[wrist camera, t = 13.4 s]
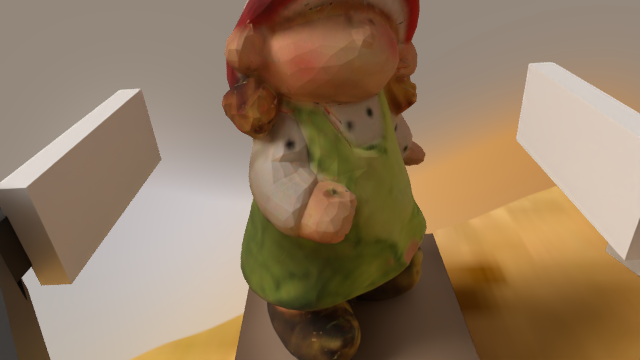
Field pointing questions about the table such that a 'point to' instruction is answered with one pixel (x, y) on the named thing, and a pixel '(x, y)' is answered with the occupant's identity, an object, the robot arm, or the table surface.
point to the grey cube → (633, 265)
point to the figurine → (326, 162)
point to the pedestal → (383, 322)
